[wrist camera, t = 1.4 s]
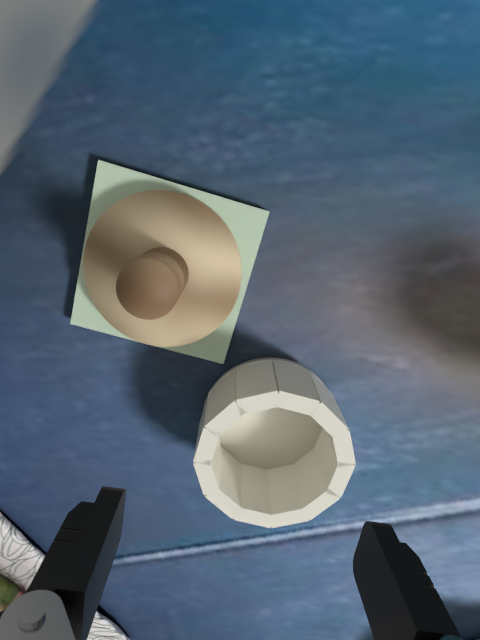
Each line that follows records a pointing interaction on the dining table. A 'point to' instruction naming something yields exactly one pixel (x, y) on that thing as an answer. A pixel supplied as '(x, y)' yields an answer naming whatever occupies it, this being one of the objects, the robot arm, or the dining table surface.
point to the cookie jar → (19, 570)
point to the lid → (162, 268)
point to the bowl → (272, 444)
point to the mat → (238, 216)
